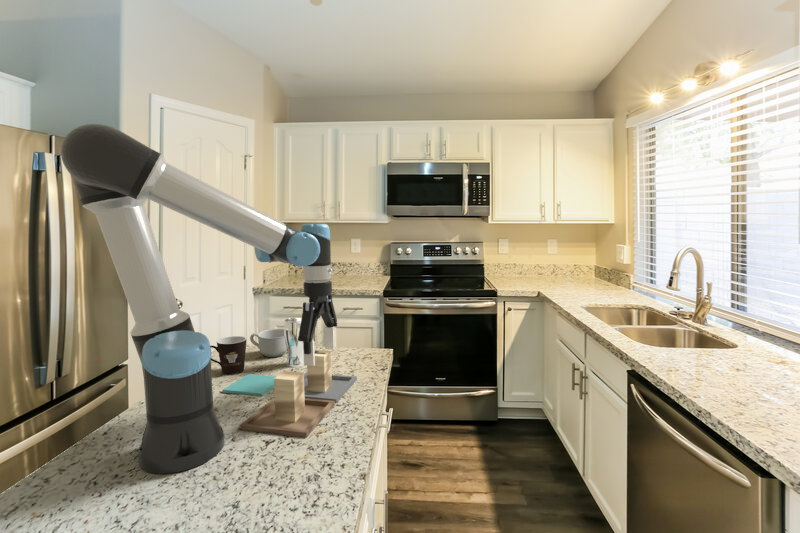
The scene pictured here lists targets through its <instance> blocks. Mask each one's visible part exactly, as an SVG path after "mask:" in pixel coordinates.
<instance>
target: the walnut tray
mask: <svg viewBox="0 0 800 533" xmlns="http://www.w3.org/2000/svg"><path fill="white" fill-rule="evenodd" d="M335 405H336V403H335V401H330V400H319V399H309V398H305V413H304V414H303V415H302V416H301V417H300V418H299V419H298V420H297V421H296V422H287V421H279V420H275V397H273V398H271V400H270V401H268V402H267V403H266V404H264V405H263V406H262V407H260V409H258V410H257V411H256V412H254V413H253V414H252V415H250V416H249V417H248V418H247V419H245V421H243V422H241V423H240V425H239V429H240V431H241V430H242V431H251V432H257V433H259V432H260V433H266V434H274V435H284V436H291V437H292V436H293V437H299V438H307V437H309V435H310V434H311V433H312V432H313V431H314V430H315V429H316V427H317V426H318V425H320V423H321V422H322V421H323V419H324V418H325V417H326V416H327V415H328V414H329V413H330V411H331V410H332V409H333V408H334V407H335Z"/></svg>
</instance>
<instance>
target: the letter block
mask: <svg viewBox="0 0 800 533" xmlns="http://www.w3.org/2000/svg"><path fill="white" fill-rule="evenodd" d="M314 353H315V365H314V366H308V365H306V367H307V368H306V372H307V378H308V391H314V392H326V391H327V390H328V389H329V388H330V387H331V386H332V372H333V371H332V368H333V367H332V366H333V365H332V350H322V349H321V350H320V349H314Z"/></svg>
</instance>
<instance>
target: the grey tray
mask: <svg viewBox="0 0 800 533" xmlns="http://www.w3.org/2000/svg"><path fill="white" fill-rule="evenodd" d="M357 377H358V376H355V375H344V374H343V375H342V374H332V386H331V387H330V388H329V389H328V390H327V391H326V392H314V391H308V378H307V371H306V372H305V373H304V395H305V398H309V399H319V400H330V401H335V404H337V403H338V402H339V401H340V400H341V398H342V397H343V396H344V395H345V394H346V393H347V392H348V391H349V390H350V389H351V387H352V386H353V385H354V384H355V383H356V382H357V379H358V378H357Z"/></svg>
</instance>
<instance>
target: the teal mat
mask: <svg viewBox="0 0 800 533" xmlns="http://www.w3.org/2000/svg"><path fill="white" fill-rule="evenodd" d="M277 376H278V375H277ZM277 376H274V375H266V374H265V375H264V374H253V373H252V374H251V373H248V374H246V375H245V376H243V377H241V378H239V379H238V380H237V381H234V382H233V383H232V384H230V385H228V386H226V387H224V388H223V389H222V393H223V394H233V395H239V394H240V395H250V396H259V397H263V396H264V395H266V394H267V393H268V392H270V391H271V390H272V389H274V378H276V377H277Z"/></svg>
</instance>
